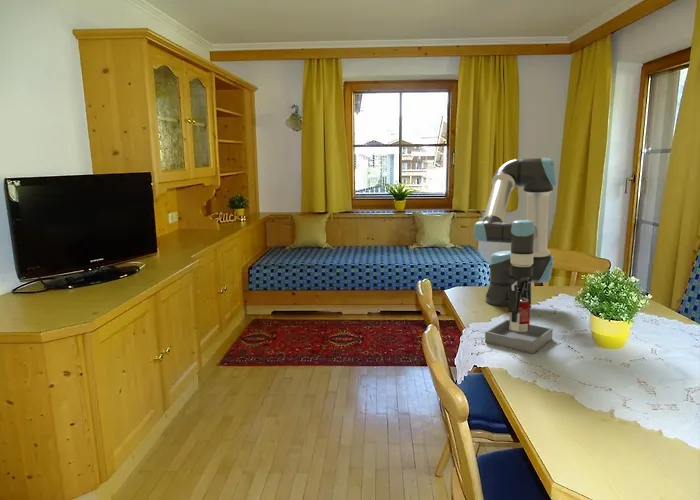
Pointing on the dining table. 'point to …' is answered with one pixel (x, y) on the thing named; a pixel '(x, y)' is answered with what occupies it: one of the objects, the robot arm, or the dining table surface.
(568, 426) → the dining table surface
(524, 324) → the soda can
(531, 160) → the robot arm
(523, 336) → the bin
